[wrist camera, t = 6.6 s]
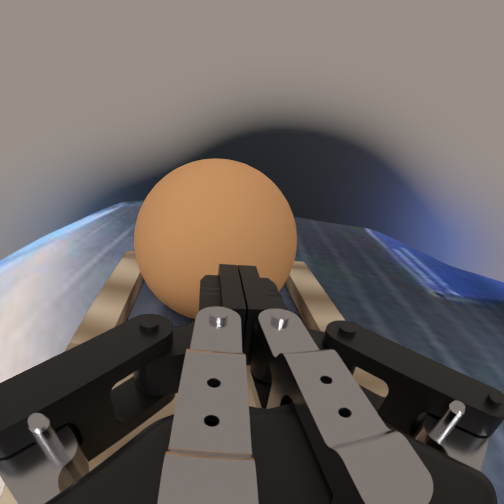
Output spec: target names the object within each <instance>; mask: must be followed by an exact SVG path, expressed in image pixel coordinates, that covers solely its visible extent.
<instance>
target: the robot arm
mask: <svg viewBox="0 0 504 504" xmlns="http://www.w3.org/2000/svg"><path fill="white" fill-rule="evenodd" d="M280 296H281V295H280V293H279V292H278V289H277V286H276V284H275V283H274V282H273V281H271V280H270V279H269V278H260V276H259V273H258V270H257V268H256V266H249V265H238V266H237V265H231V264H219V268H218V275H205V276H204V277H203V278H202V279H201V280H200V294H199V312H198V313H197V315H196V319H195V320H194V321H193V322H192V323H190V324H187V325H184V326H178V327H173V325H172V323H171V322H170V321H169V320H168V319H167V318H165V317H163V316H160V315H154V314H145V315H140V316H136V317H134V318H132V319H130V320H128V321H126V322H124V323H122V324H120V325H118V326H116V327H114V328H112V329H110V330H108V331H106V332H104V333H102V334H100V335H98V336H96V337H94V338H92V339H90V340H88V341H85V342H83V343H81V344H79V345H77V346H75V347H73V348H71V349H69V350H67V351H65V352H63V353H61V354H59V355H57V356H55V357H53V358H51V359H49V360H47V361H45V362H43V363H41V364H39V365H37V366H34V367H32V368H30V369H28V370H26V371H24V372H22V373H20V374H18V375H16V376H14V377H12V378H10V379H8V380H6V381H4V382H2V383H0V476H1V478H2V479H3V481H4V483H5V484H6V486H7V487H8V489H9V491H10V492H11V494H12V495H13V497H14V498H15V500H16V501H17V503H18V504H497V496H496V492H495V490H494V487H493V485H492V484H491V482H490V481H489V479H488V478H487V477H486V476H485V475H484V474H483V473H481V472H480V471H481V468H482V464H483V460H484V457H485V453H486V449H487V444H488V440H489V438H490V436H491V435H492V434H493V433H494V431H495V430H496V429H497V428H498V426H499V425H500V424H501V423H502V421H503V420H504V394H503V393H502V392H500V391H499V390H497V389H495V388H493V387H490V386H488V385H486V384H484V383H481V382H479V381H477V380H475V379H473V378H470V377H468V376H466V375H464V374H462V373H459V372H457V371H455V370H453V369H451V368H448V367H446V366H444V365H442V364H440V363H438V362H435V361H433V360H431V359H429V358H427V357H425V356H423V355H420V354H418V353H416V352H414V351H412V350H410V349H408V348H405V347H403V346H401V345H399V344H397V343H395V342H393V341H391V340H389V339H386V338H384V337H382V336H380V335H378V334H376V333H374V332H372V331H370V330H368V329H365V328H363V327H361V326H359V325H357V324H355V323H352V322H349V321H343V320H337V321H332V322H330V323H329V324H328V325H327V327H326V330H325V332H323V331H317V330H312V329H308V328H305V326H304V324H303V323H302V321H301V319H300V318H299V317H298V316H297V315H296V314H294V313H292V312H290V311H287V309H286V307H285V305H284V302H283V300H282V298H281V297H280ZM246 365H250V376H249V384H250V387H251V391H252V394H253V397H254V401H255V404H256V407H251V406H249V401H248V385H247V369H246ZM356 367H358V368H360V369H362V370H364V371H366V372H368V373H370V374H371V375H373V376H375V377H377V378H379V379H381V380H383V381H384V382H385V383H386V384H387V386H388V390H389V391H388V394H387V396H386V397H382V396H380V395H378V394H376V393H374V392H372V391H370V390H368V389H366V388H365V387H363V386H361V385H359V384H358V383H357V382H356V380H355V379H354V377H353V374H354V371H355V369H356ZM132 373H133V375H134V376H133V377H131V378H130V379H128V380H127V381H125V382H123V383H122V384H120V385H119V386H117V387H115V388H114V389H112V388H113V387H114V385H115V384H116V383H118V382H119V381H121V380H122V379H124V378H126V377H127V376H129V375H130V374H132ZM176 393H178V396H177V401H176V407H175V413H174V414H173V415H170V416H167V417H164V418H162V419H160V420H157V421H155V422H154V423H152V424H150V425H149V426H147V427H146V428H145V429H143V430H142V431H141V432H140V433H139V434H137V435H136V436H135V437H134V438H132V439H131V440H130V441H129V442H127V443H126V444H125V445H124V446H122V447H121V448H120V449H118V450H117V451H116V452H115V453H113V454H112V455H111V456H109V457H108V458H107V459H106V460H104V461H103V462H102V463H100V464H99V465H98V466H96V467H95V468H94V469H92V470H91V471H90V472H89V463H88V462H89V461H91V460H92V459H94V458H95V457H97V456H98V455H100V454H101V453H102V452H104V451H105V450H107V449H108V448H110V447H111V446H112V445H114V444H115V443H117V442H118V441H119V440H121V439H122V438H124V437H125V436H126V435H128V434H129V433H130V432H132V431H133V430H135V429H136V428H137V427H139V426H140V425H141V424H143V423H144V422H145V421H147V420H148V419H149V418H151V417H152V416H153V415H155V414H156V413H157V412H159V411H160V410H161V409H162V408H164V407H165V406H166V405H168V404H169V403H170V402H171V401H172V400H173V399H174V397H175V394H176Z"/></svg>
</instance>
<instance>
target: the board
mask: <svg viewBox="0 0 504 504" xmlns="http://www.w3.org/2000/svg"><path fill="white" fill-rule="evenodd" d="M143 281H144V278H143V276H142V274H141V272H140V270H139V267H138V263H137V260H136V255H135V251H127V252H126V254H125V255H124V257H123V258H122V259H121V261H120V262H119V264H118V265H117V267H116V268H115V270H114V271H113V273H112V274H111V276H110V277H109V279H108V280H107V282H106V284H105V285H104V287H103V288H102V290H101V291H100V293H99V294H98V296H97V298H96V299H95V301H94V302H93V304H92V306H91V307H90V309H89V311H88V312H87V314H86V316H85V317H84V319H83V321H82V322H81V324H80V326H79V327H78V329H77V331H76V332H75V334H74V336H73V338H72V339H71V341H70V343H69V345H68V346H67V348H66V350H65V351H67V350H69V349H71V348H73V347H75V346H77V345H79V344H81V343H83V342H85V341H88V340H90V339H92V338H94V337H96V336H98V335H100V334H102V333H104V332H106V331H108V330H110V329H112V328H114V327H116V326H118V325H120V324H122V323H124V322H126V321H127V319H128V317H129V314H130V312H131V309H132V307H133V304H134V302H135V299H136V297H137V295H138V292H139V290H140V288H141V285H142V283H143ZM285 285H286V287H287V289H288V291H289V293H290V295H291V297H292V299H293V301H294V303H295V305H296V307H297V309H298V311H299V314H300V316H301V318H302V320H303V322H304V324H305V326H306V328H308V329H312V330H317V331H323V332H325V330H326V327H327V325H328V324H329V323H330V322H332V321H337V320H343V321H345V320H344V318H343V317H342V315H341V314H340V312H339V311H338V309H337V308H336V307H335V305H334V304H333V302H332V301H331V299H330V298H329V297H328V295H327V294H326V292H325V291H324V290H323V288H322V287H321V285H320V284H319V282H318V281H317V280H316V278H315V277H314V275H313V274H312V273H311V271H310V270H309V268H308V267H307V266H306V264H305V263H304V262H297V261H294V264H293V266H292V269H291V271H290V274H289V276H288V278H287V280H286V282H285ZM246 369H247V385H248V401H249V406H251V407H256V404H255V401H254V397H253V394H252V391H251V387H250V384H249V376H250V365H246ZM133 376H134V375H133V373H132V374H130V375H129V376H127V377H126V378H124V379H122V380H121V381H119V382H118V383H116V384H115V385H114V387H113V388H112V389H114V388H115V387H117V386H119V385H120V384H122V383H123V382H125V381H127V380H128V379H130V378H131V377H133ZM353 377H354V379H355V380H356V382H357V383H358V384H359V385H361V386H363V387H365V388H366V389H368V390H370V391H372V392H374V393H376V394H378V395H380V396H382V397H386V396H387V394H388V391H389V390H388V386H387V384H386V383H385V382H384V381H383V380H381V379H379V378H377V377H375V376H373V375H371V374H370V373H368V372H366V371H364V370H362V369H360V368H358V367H356V369H355V371H354V374H353ZM177 396H178V393H176V394H175V397H174V399H173V400H172V401H171V402H170V403H169V404H168V405H166V406H165V407H164V408H162V409H161V410H160V411H159V412H157V413H156V414H155V415H153V416H152V417H151V418H149V419H148V420H147V421H145V422H144V423H143V424H141V425H140V426H139V427H137V428H136V429H135V430H133V431H132V432H130V433H129V434H128V435H126V436H125V437H124V438H122V439H121V440H119V441H118V442H117V443H115V444H114V445H112V446H111V447H110V448H108V449H107V450H105V451H104V452H102V453H101V454H100V455H98V456H97V457H95V458H94V459H92V460H91V461H89V462H88V463H89V472H90V471H91V470H92V469H94V468H95V467H96V466H98V465H99V464H100V463H102V462H103V461H104V460H106V459H107V458H108V457H109V456H111V455H112V454H113V453H115V452H116V451H117V450H118V449H120V448H121V447H122V446H124V445H125V444H126V443H127V442H129V441H130V440H131V439H132V438H134V437H135V436H136V435H137V434H139V433H140V432H141V431H142V430H143V429H145V428H146V427H147V426H149V425H150V424H152V423H154V422H155V421H157V420H160V419H162V418H164V417H167V416H170V415H173V414H174V413H175V407H176V401H177ZM0 504H18V503H17V501H16V500H15V498H14V497H13V495H12V494H11V492H10V491H9V489H8V487H7V486H6V484H5V486H4V489H3V492H2V495H1V498H0Z"/></svg>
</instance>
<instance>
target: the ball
mask: <svg viewBox="0 0 504 504" xmlns="http://www.w3.org/2000/svg"><path fill="white" fill-rule="evenodd" d="M296 247H297V234H296V225H295V221H294V217H293V214H292V211H291V209H290V206H289V204H288V202H287V200H286V199H285V197H284V196H283V194H282V193H281V191H280V190H279V189H278V187H277V186H276V185H275V184H274V183H273V182H272V181H271V180H270V179H269V178H267V177H266V176H265V175H264V174H263V173H261V172H260V171H258V170H256V169H254V168H252V167H250V166H248V165H246V164H244V163H240V162H237V161H233V160H227V159H204V160H199V161H195V162H191V163H188V164H186V165H183V166H181V167H179V168H177V169H175V170H174V171H172V172H171V173H169V174H167V175H166V176H165V177H164V178H163V179H162V180H160V181H159V182H158V183H157V184H156V186H155V187H154V188H153V189H152V190H151V192H150V193H149V194H148V196H147V197H146V199H145V201H144V203H143V205H142V207H141V209H140V212H139V214H138V217H137V222H136V227H135V232H134V248H135V255H136V260H137V263H138V267H139V270H140V272H141V274H142V276H143V278H144V280H145V282H146V284H147V285H148V287H149V288H150V289H151V291H152V292H153V293H154V294H155V296H156V297H157V298H158V299H159V300H160V301H161V302H163V303H164V304H165V305H167V306H168V307H169V308H171V309H172V310H174V311H176V312H177V313H179V314H181V315H184V316H186V317H189V318H192V319H196V315H197V313H198V312H199V294H200V280H201V279H202V278H203V277H204V276H205V275H218V268H219V264H231V265H237V266H238V265H249V266H256V268H257V270H258V273H259V276H260V278H269V279H270V280H271V281H273V282H274V283H275V284H276V286H277V289H278V292H279V291H280V289H281V288H282V286H283V285H284V283H285V282H286V280H287V278H288V276H289V274H290V271H291V269H292V266H293V264H294V260H295V255H296Z"/></svg>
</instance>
